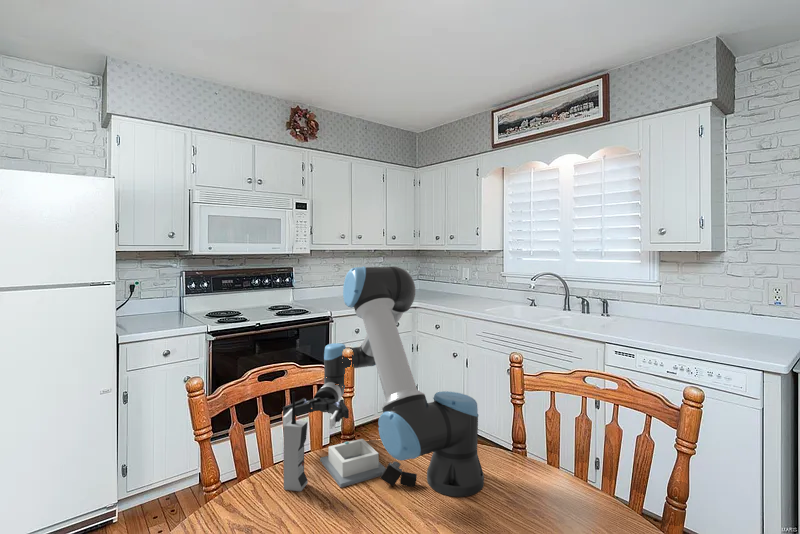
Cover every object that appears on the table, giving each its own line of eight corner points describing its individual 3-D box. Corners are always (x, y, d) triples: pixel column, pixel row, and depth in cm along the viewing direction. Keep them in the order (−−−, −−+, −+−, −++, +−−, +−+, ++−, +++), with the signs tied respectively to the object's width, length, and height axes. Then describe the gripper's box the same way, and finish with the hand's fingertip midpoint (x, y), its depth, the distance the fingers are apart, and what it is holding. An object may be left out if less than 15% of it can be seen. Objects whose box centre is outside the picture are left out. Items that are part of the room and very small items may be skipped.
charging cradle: (388, 473, 113) (388, 454, 113) (340, 487, 106) (340, 467, 106) (363, 450, 127) (363, 433, 127) (320, 461, 120) (320, 443, 120)
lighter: (408, 492, 109) (419, 474, 109) (408, 496, 107) (420, 478, 107) (380, 473, 109) (392, 456, 109) (380, 478, 107) (392, 460, 107)
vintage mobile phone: (301, 492, 104) (301, 394, 103) (283, 489, 105) (283, 393, 104) (307, 484, 108) (307, 390, 107) (290, 482, 109) (290, 388, 108)
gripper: (364, 409, 136) (350, 438, 114) (291, 407, 138) (264, 434, 117) (364, 387, 135) (350, 411, 114) (291, 384, 138) (264, 408, 117)
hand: (307, 422), depth 115 cm, fingers open, 13 cm apart
